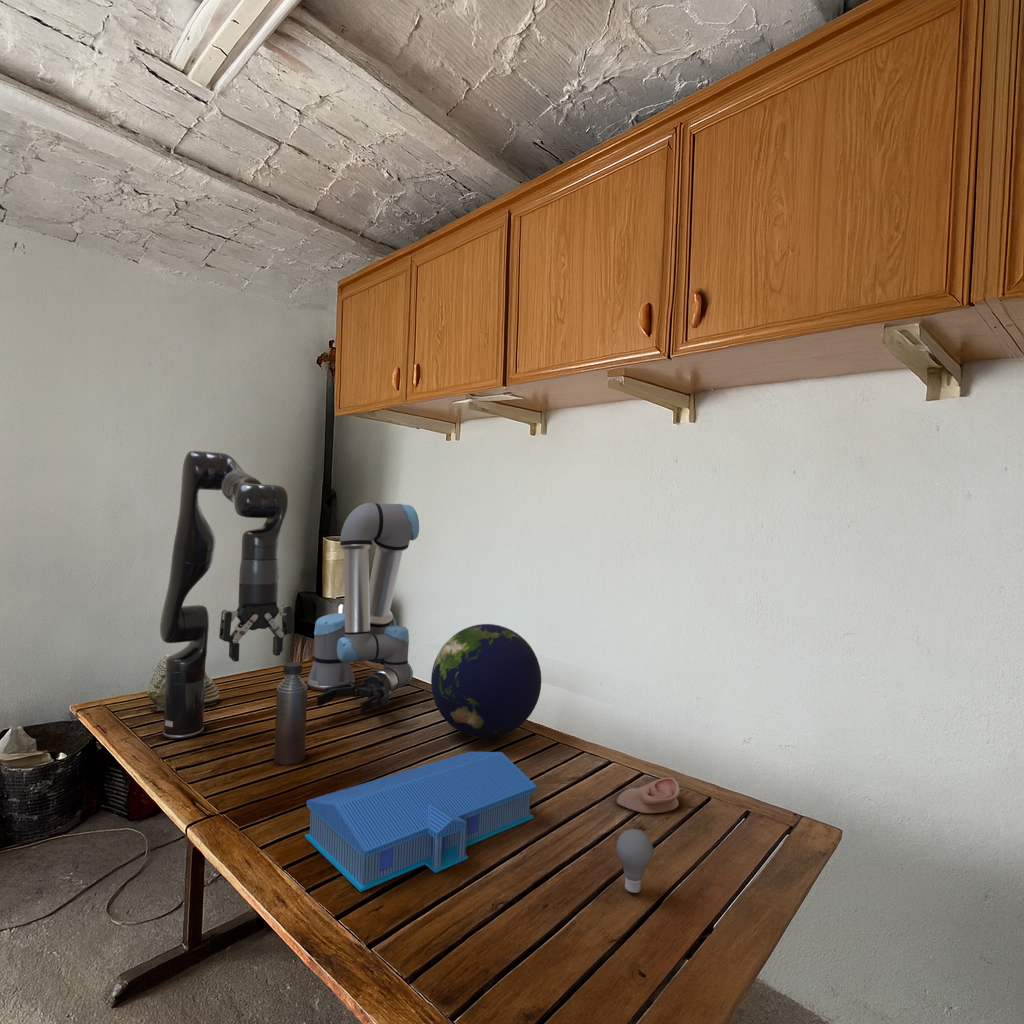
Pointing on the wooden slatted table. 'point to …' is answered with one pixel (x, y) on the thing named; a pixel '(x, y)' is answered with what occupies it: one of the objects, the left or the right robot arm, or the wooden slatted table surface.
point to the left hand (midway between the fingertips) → (256, 657)
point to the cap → (292, 668)
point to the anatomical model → (652, 796)
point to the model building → (419, 816)
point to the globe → (486, 681)
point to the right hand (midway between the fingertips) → (339, 704)
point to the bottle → (290, 721)
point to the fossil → (158, 687)
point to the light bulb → (634, 857)
